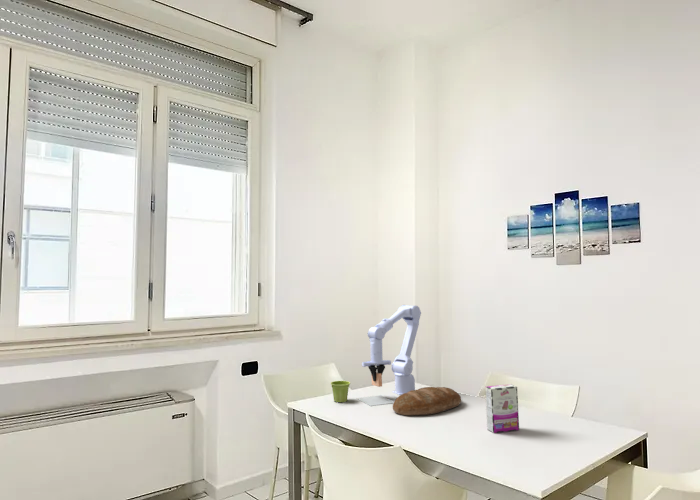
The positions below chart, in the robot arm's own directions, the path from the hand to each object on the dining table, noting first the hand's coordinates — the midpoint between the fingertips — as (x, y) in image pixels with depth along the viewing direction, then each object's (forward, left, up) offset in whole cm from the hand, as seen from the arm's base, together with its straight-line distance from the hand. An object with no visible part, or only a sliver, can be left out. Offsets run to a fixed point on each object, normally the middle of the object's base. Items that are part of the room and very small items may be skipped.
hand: (376, 380), depth 244 cm
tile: (0, 0, -2) cm, 2 cm away
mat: (+3, +4, -9) cm, 10 cm away
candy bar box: (-21, +65, -9) cm, 69 cm away
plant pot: (+18, -3, -9) cm, 20 cm away
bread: (-13, +24, -9) cm, 29 cm away
